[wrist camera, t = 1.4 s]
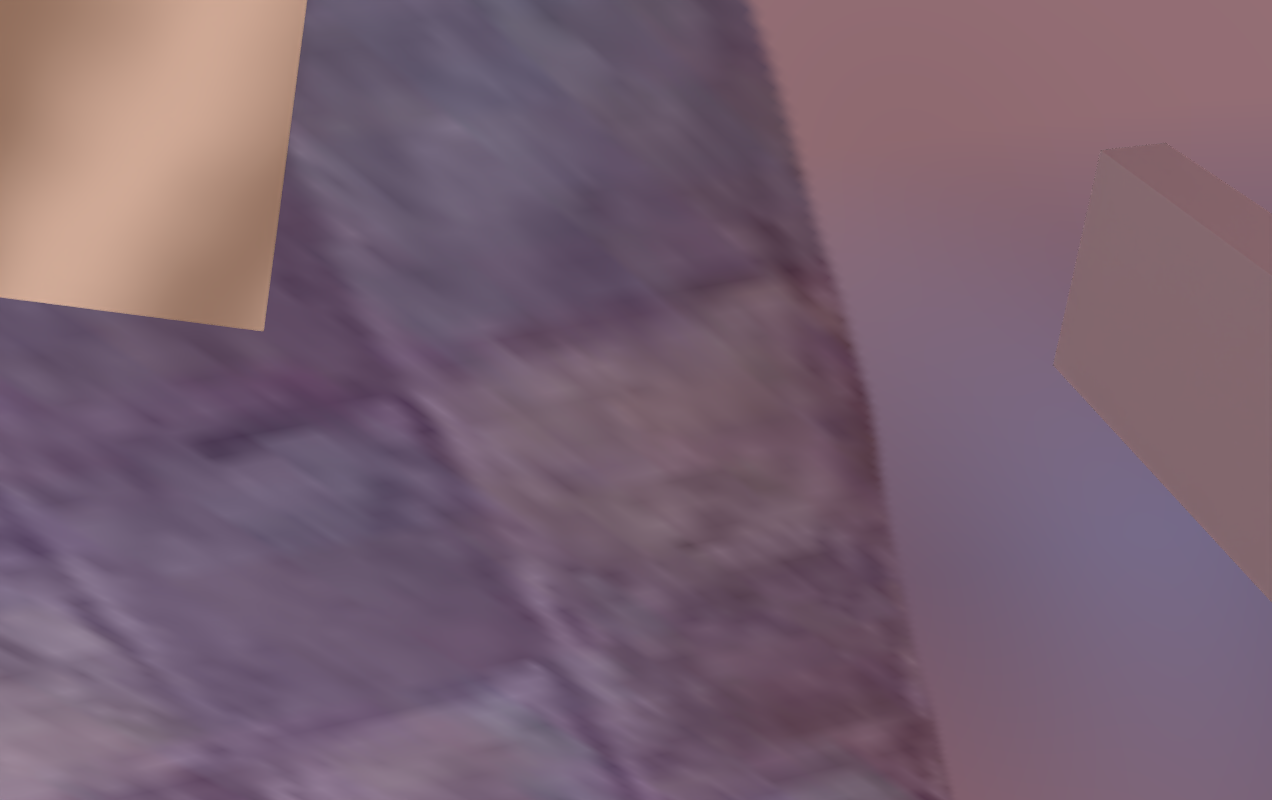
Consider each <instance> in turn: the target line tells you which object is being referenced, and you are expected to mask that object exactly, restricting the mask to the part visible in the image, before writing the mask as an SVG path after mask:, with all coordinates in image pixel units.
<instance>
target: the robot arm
mask: <svg viewBox="0 0 1272 800" xmlns="http://www.w3.org/2000/svg"><path fill="white" fill-rule="evenodd" d="M1053 366H1055V368H1056V369H1057V370H1058V371H1059V372H1060V373H1061V374H1062V375H1063V376H1064V378H1065V379H1066V380H1067V381H1068V382H1069V383H1070V384H1071V385H1072V386H1073V387H1074V388H1075V389H1076V390H1077V392H1078V393H1079V394H1080V395H1081V396H1082V397H1083V398H1084V399H1085V400H1086V401H1087V402H1088V403H1089V405H1090V406H1091V407H1092V408H1093V409H1094V410H1095V411H1096V412H1097V413H1098V414H1099V415H1100V417H1101V418H1102V419H1103V420H1104V421H1105V422H1106V423H1107V424H1108V425H1109V426H1110V427H1111V429H1112V430H1113V431H1114V432H1115V433H1116V434H1117V435H1118V436H1119V437H1120V438H1121V439H1122V440H1123V441H1124V443H1125V444H1126V445H1127V446H1128V447H1129V448H1130V449H1131V450H1132V451H1133V452H1134V453H1135V455H1137V457H1138V458H1139V459H1140V460H1141V461H1142V462H1143V463H1144V464H1145V465H1146V466H1147V468H1148V469H1149V470H1150V471H1151V472H1152V473H1153V474H1154V475H1155V476H1156V477H1157V478H1158V480H1159V481H1160V482H1161V483H1162V484H1163V485H1164V486H1165V487H1166V488H1167V489H1168V490H1169V491H1170V492H1171V494H1172V495H1173V496H1174V497H1175V498H1176V499H1177V500H1178V501H1179V502H1180V503H1181V504H1182V506H1183V507H1184V508H1185V509H1186V510H1187V511H1188V512H1189V513H1190V514H1191V515H1192V516H1193V517H1194V519H1195V520H1196V521H1197V522H1198V523H1199V524H1200V525H1201V526H1202V527H1203V528H1204V529H1205V530H1206V532H1208V534H1209V535H1210V536H1211V537H1212V538H1213V539H1214V540H1215V541H1216V542H1217V544H1218V545H1219V546H1220V547H1221V548H1222V549H1223V550H1224V551H1225V552H1226V553H1227V554H1228V555H1229V557H1230V558H1231V559H1232V560H1233V561H1234V562H1235V563H1236V564H1237V565H1238V566H1239V567H1240V568H1241V570H1242V571H1243V572H1244V573H1245V574H1246V575H1247V576H1248V577H1249V578H1250V579H1251V580H1252V581H1253V583H1254V584H1255V585H1256V586H1257V587H1258V588H1259V589H1260V590H1261V591H1262V592H1263V593H1264V594H1265V596H1266V597H1267V598H1268V599H1269V600H1270V601H1271V602H1272V214H1271V213H1270V212H1268V211H1267V210H1265V209H1264V208H1262V207H1261V206H1259V205H1258V204H1256V203H1255V202H1253V201H1252V200H1250V199H1249V198H1247V197H1246V196H1244V195H1243V194H1241V193H1240V192H1238V191H1237V190H1235V189H1234V188H1232V187H1231V186H1229V185H1228V184H1226V183H1225V182H1223V181H1222V180H1220V179H1219V178H1217V177H1216V176H1214V175H1213V174H1211V173H1210V172H1208V171H1207V170H1205V169H1204V168H1202V167H1201V166H1199V165H1198V164H1196V163H1195V162H1193V161H1192V160H1191V159H1189V158H1187V157H1186V156H1184V155H1183V154H1182V153H1180V152H1178V151H1177V150H1175V149H1174V148H1172V147H1171V146H1170V145H1168V144H1167V143H1160V144H1151V145H1142V146H1133V147H1124V148H1115V149H1106V150H1101V151H1100V156H1099V160H1098V164H1097V169H1096V173H1095V178H1094V183H1093V187H1092V192H1091V196H1090V201H1089V205H1088V210H1087V214H1086V219H1085V223H1084V228H1083V232H1082V237H1081V241H1080V246H1079V250H1078V255H1077V259H1076V264H1075V268H1074V273H1073V278H1072V282H1071V287H1070V291H1069V296H1068V300H1067V305H1066V309H1065V314H1064V318H1063V323H1062V328H1061V332H1060V337H1059V341H1058V345H1057V350H1056V355H1055V359H1054V364H1053Z"/></svg>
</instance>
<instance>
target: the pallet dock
mask: <svg viewBox="0 0 1272 800" xmlns="http://www.w3.org/2000/svg"><path fill="white" fill-rule="evenodd" d="M306 4H307V0H0V297H2V298H10V299H18V300H26V301H33V302H41V303H49V304H57V305H64V306H72V307H80V308H87V309H95V310H103V311H111V312H118V313H126V314H134V315H142V316H149V317H157V318H165V319H172V320H180V321H188V322H196V323H203V324H211V325H219V326H227V327H234V328H242V329H250V330H257V331H264V324H265V316H266V309H267V301H268V294H269V286H270V278H271V271H272V263H273V256H274V248H275V240H276V233H277V225H278V218H279V210H280V202H281V195H282V187H283V179H284V172H285V164H286V157H287V149H288V141H289V134H290V126H291V119H292V111H293V103H294V96H295V88H296V81H297V73H298V65H299V58H300V50H301V42H302V35H303V27H304V20H305V12H306Z"/></svg>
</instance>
